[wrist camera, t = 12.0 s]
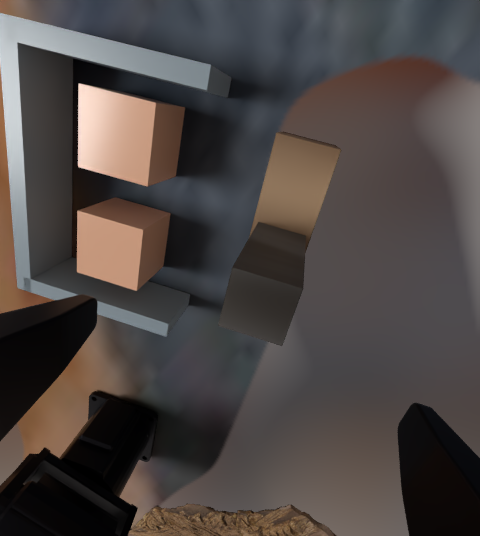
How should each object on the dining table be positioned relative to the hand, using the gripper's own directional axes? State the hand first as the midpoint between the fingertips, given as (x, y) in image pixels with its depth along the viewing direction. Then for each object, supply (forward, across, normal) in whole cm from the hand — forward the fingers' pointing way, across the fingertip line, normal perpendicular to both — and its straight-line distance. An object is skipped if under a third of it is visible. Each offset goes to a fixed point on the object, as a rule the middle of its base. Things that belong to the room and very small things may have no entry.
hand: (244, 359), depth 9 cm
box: (+13, +10, 0) cm, 16 cm away
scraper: (+13, 0, 0) cm, 13 cm away
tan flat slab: (+13, -3, +35) cm, 37 cm away
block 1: (+13, +9, -3) cm, 16 cm away
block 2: (+13, +9, +3) cm, 16 cm away
